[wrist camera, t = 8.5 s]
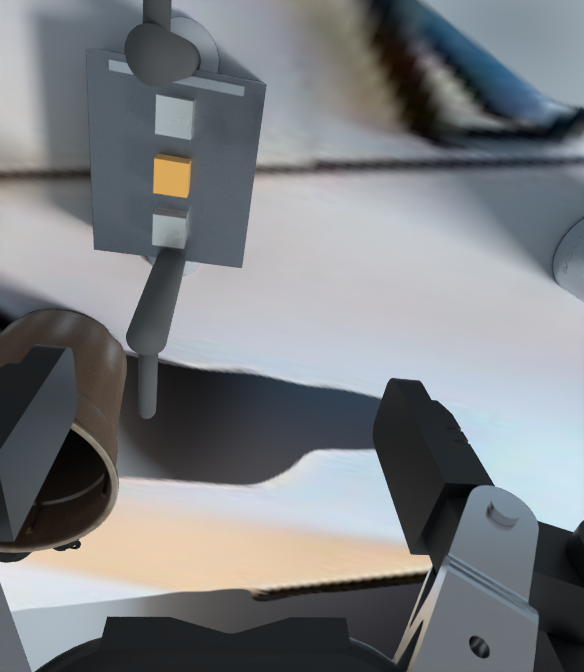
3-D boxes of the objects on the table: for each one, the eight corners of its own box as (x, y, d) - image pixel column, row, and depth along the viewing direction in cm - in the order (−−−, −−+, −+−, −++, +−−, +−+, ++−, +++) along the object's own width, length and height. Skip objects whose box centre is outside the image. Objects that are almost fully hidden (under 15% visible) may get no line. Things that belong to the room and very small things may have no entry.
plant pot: (150, 295, 43) (111, 403, 30) (151, 422, 51) (121, 552, 38) (-37, 280, 41) (-175, 390, 27) (-5, 416, 49) (-98, 555, 35)
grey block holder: (263, 82, 35) (268, 85, 30) (241, 251, 42) (242, 277, 37) (100, 49, 33) (76, 46, 28) (105, 233, 40) (87, 258, 35)
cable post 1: (228, -54, 31) (225, -147, 17) (215, 102, 35) (204, 126, 22) (153, -74, 30) (85, -188, 16) (149, 89, 34) (95, 106, 21)
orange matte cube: (191, 159, 34) (189, 164, 32) (189, 191, 35) (187, 198, 33) (158, 153, 33) (154, 158, 31) (157, 186, 34) (153, 192, 33)
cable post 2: (205, 225, 40) (190, 307, 27) (197, 318, 45) (181, 428, 32) (147, 217, 39) (102, 298, 26) (145, 312, 44) (106, 423, 31)
